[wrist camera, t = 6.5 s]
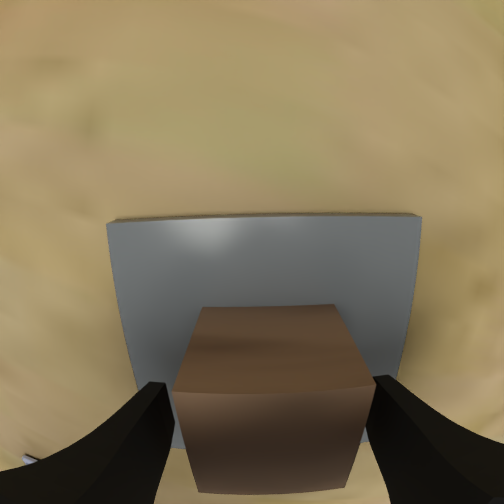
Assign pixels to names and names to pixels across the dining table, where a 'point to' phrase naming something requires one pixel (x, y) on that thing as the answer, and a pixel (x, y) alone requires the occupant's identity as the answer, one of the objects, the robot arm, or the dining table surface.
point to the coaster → (262, 279)
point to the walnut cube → (272, 399)
